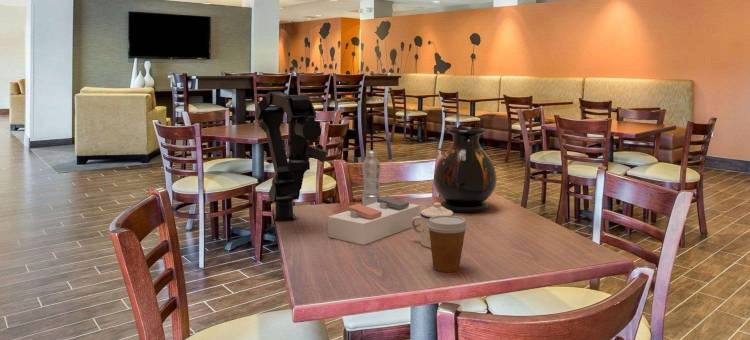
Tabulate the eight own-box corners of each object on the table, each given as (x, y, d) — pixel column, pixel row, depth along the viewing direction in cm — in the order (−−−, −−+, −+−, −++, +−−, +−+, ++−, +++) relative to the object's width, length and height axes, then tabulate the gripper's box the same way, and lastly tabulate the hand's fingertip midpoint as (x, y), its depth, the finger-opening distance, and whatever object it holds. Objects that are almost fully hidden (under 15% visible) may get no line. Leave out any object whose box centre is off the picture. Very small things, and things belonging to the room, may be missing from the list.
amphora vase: (501, 215, 188) (504, 131, 184) (435, 215, 189) (437, 131, 184) (489, 201, 209) (491, 125, 205) (430, 201, 210) (432, 125, 205)
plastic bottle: (379, 209, 196) (379, 152, 193) (360, 208, 197) (360, 151, 194) (382, 205, 202) (383, 150, 199) (364, 204, 204) (364, 149, 200)
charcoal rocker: (376, 202, 175) (377, 198, 174) (386, 199, 178) (387, 195, 178) (399, 209, 170) (399, 205, 169) (408, 206, 174) (409, 202, 173)
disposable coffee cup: (423, 262, 142) (424, 215, 140) (460, 261, 143) (462, 214, 141) (430, 275, 132) (431, 225, 130) (470, 274, 133) (471, 224, 131)
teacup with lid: (457, 242, 159) (458, 201, 157) (447, 251, 151) (448, 208, 149) (416, 236, 164) (417, 197, 162) (405, 245, 156) (405, 203, 154)
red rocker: (347, 210, 164) (347, 206, 163) (358, 207, 167) (358, 203, 167) (370, 219, 159) (371, 215, 158) (381, 215, 163) (381, 211, 162)
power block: (328, 236, 163) (328, 211, 162) (386, 217, 185) (386, 194, 184) (363, 245, 156) (363, 218, 154) (419, 224, 177) (419, 200, 176)
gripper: (327, 140, 160) (327, 194, 163) (324, 133, 179) (324, 182, 181) (287, 141, 159) (288, 195, 161) (288, 134, 177) (289, 183, 180)
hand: (299, 189), depth 171 cm, fingers closed
